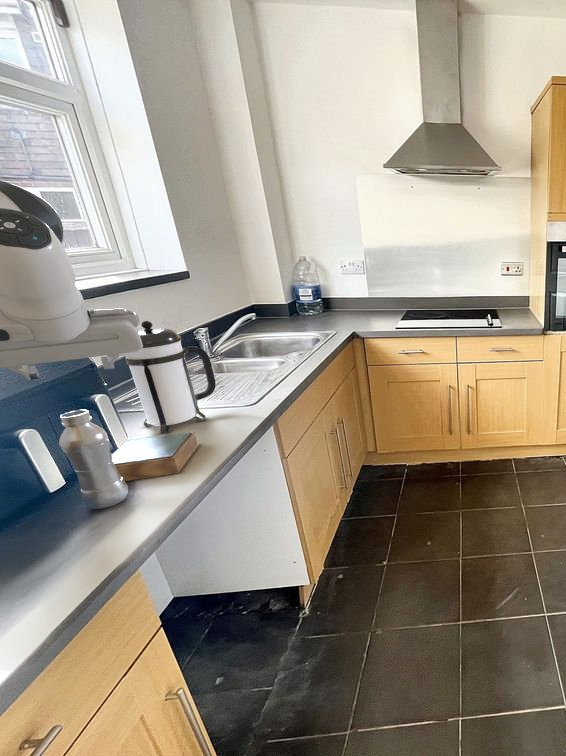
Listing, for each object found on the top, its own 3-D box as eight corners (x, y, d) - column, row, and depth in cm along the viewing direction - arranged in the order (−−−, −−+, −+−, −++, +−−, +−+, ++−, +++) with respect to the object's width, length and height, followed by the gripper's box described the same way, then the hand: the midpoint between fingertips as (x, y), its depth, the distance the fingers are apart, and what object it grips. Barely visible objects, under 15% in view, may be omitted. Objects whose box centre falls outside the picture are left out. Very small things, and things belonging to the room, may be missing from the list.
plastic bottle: (128, 505, 84) (95, 415, 77) (82, 517, 80) (43, 423, 73) (133, 490, 89) (102, 404, 82) (90, 501, 85) (54, 411, 78)
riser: (102, 484, 91) (95, 467, 89) (131, 455, 103) (126, 439, 102) (178, 472, 95) (173, 456, 94) (198, 445, 108) (194, 430, 106)
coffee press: (196, 431, 116) (166, 325, 106) (129, 436, 112) (92, 327, 102) (223, 407, 132) (199, 313, 121) (166, 411, 128) (136, 315, 118)
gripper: (132, 295, 72) (144, 349, 81) (-59, 306, 59) (-18, 368, 68) (140, 320, 70) (152, 373, 79) (-56, 337, 57) (-14, 398, 66)
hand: (72, 371), depth 73 cm, fingers open, 8 cm apart
